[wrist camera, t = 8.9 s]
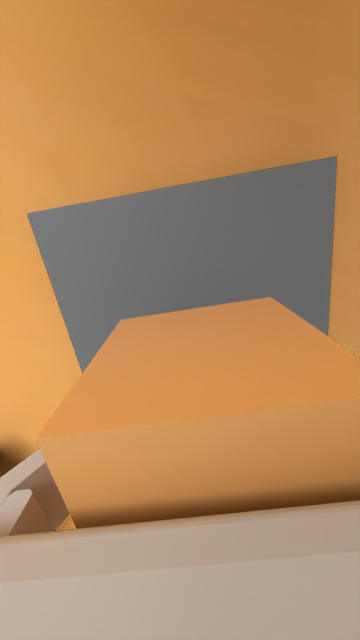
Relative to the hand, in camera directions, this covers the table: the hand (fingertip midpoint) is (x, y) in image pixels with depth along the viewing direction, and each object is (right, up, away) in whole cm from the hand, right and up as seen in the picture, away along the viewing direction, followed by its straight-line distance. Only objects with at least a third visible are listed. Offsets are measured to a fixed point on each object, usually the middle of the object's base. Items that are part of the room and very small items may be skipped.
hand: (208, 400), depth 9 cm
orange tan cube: (0, +1, +2) cm, 2 cm away
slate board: (0, +3, +7) cm, 8 cm away
